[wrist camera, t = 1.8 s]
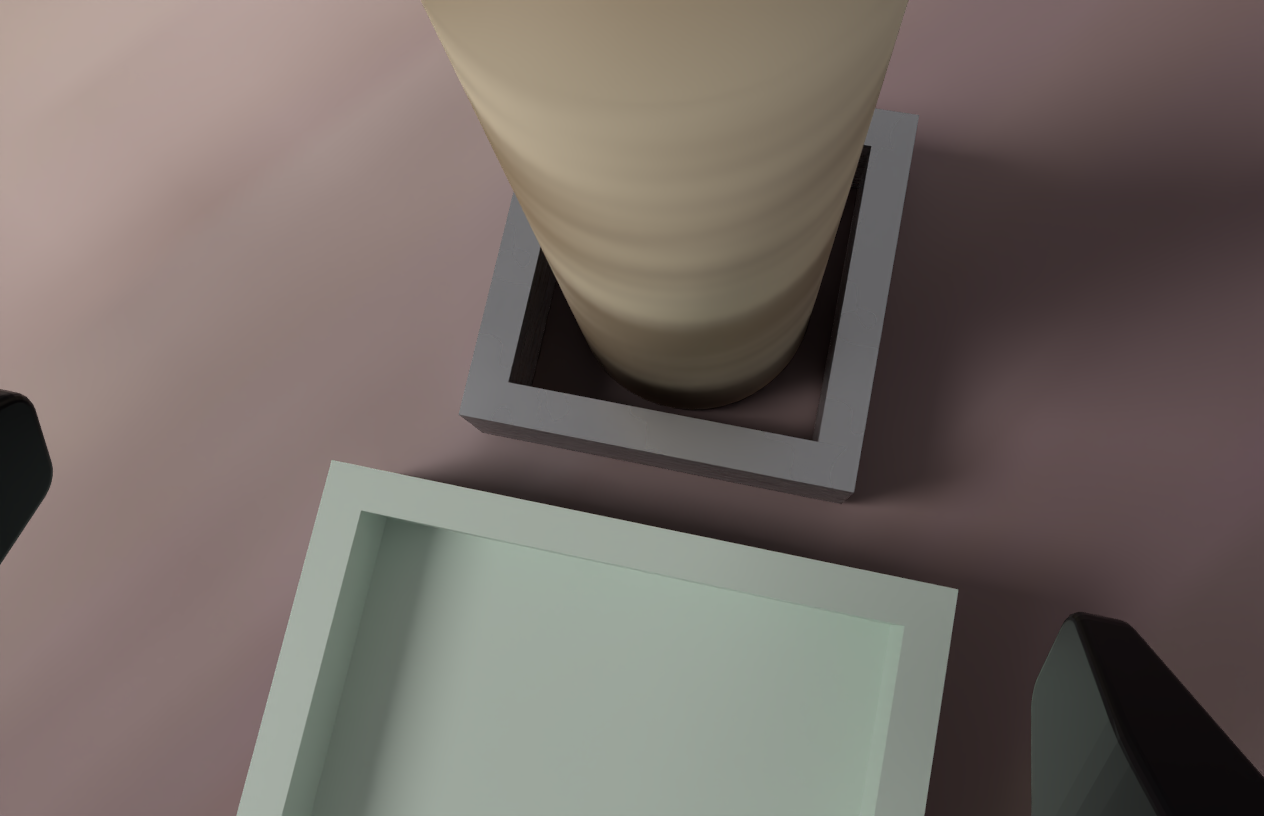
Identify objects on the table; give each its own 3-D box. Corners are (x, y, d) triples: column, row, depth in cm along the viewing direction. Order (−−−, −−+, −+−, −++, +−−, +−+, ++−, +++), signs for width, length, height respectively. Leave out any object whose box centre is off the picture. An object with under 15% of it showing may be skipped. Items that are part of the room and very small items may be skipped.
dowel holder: (841, 503, 20) (853, 492, 19) (482, 432, 21) (459, 414, 19) (900, 160, 22) (919, 115, 20) (561, 106, 23) (546, 58, 21)
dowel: (849, 356, 21) (1047, -31, 8) (626, 444, 21) (487, 191, 8) (757, 152, 22) (810, -467, 9) (545, 236, 22) (314, -269, 9)
